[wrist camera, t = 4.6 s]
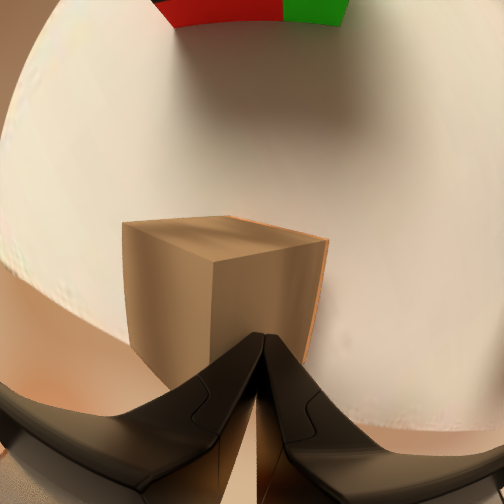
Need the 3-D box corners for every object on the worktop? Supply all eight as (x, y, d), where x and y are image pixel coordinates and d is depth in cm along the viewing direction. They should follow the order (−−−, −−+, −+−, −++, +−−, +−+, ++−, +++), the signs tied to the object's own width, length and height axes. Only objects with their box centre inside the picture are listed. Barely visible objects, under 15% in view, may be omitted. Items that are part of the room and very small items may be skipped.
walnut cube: (329, 239, 11) (213, 262, 7) (305, 361, 12) (208, 426, 8) (228, 215, 15) (122, 222, 10) (221, 316, 16) (130, 346, 12)
